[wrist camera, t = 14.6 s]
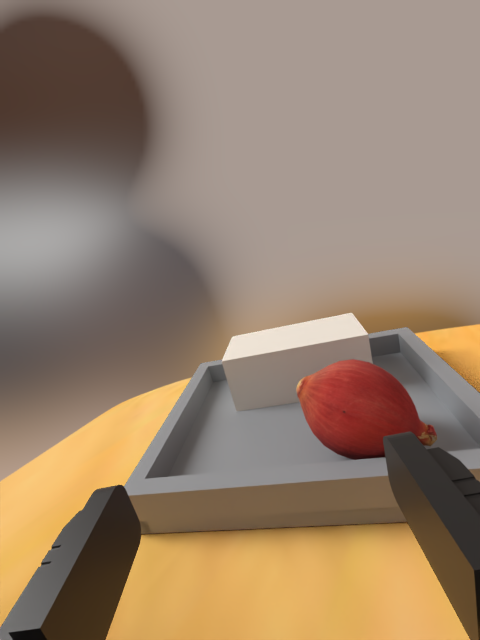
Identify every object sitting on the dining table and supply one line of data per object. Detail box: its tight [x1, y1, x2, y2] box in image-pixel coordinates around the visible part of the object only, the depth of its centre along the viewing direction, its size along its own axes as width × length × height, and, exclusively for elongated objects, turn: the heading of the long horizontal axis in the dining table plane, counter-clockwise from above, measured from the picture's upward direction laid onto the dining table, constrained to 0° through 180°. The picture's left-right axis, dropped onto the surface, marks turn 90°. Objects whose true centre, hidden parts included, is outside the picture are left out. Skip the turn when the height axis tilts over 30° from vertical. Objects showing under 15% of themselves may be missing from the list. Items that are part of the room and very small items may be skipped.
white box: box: [222, 313, 373, 411], centre depth 28 cm, size 12×6×5 cm, turn 82°
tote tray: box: [124, 327, 480, 534], centre depth 25 cm, size 22×18×3 cm
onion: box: [296, 359, 437, 460], centre depth 18 cm, size 6×6×8 cm
